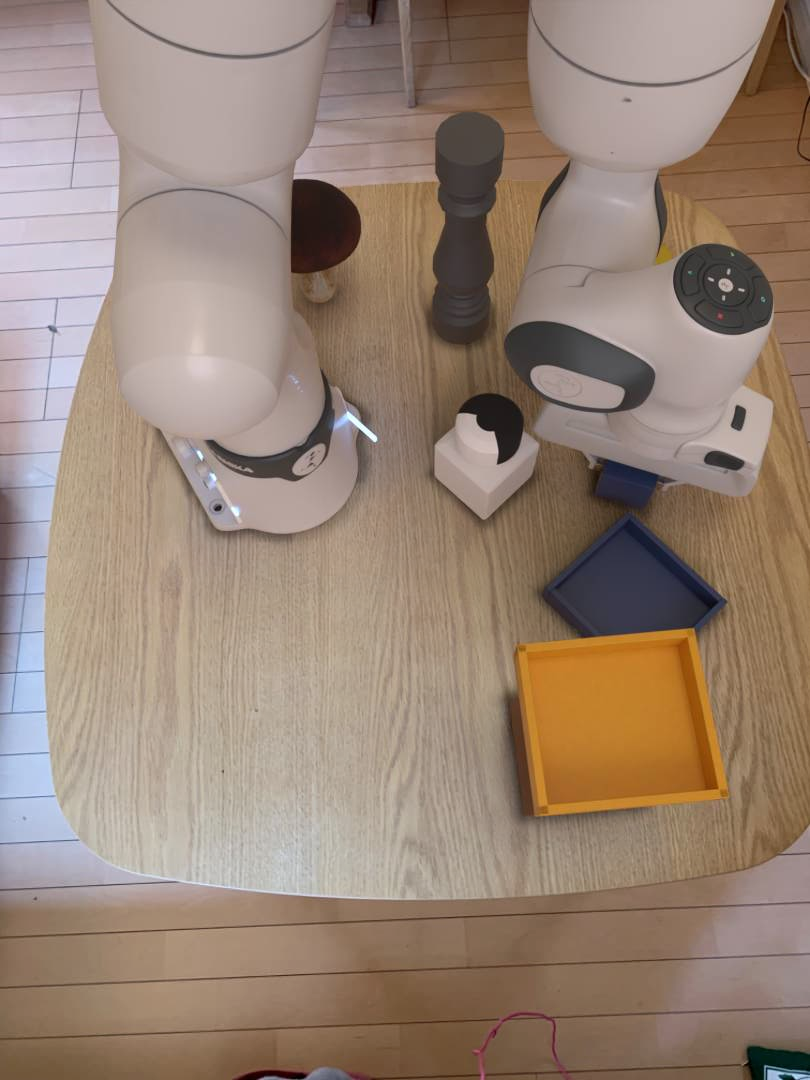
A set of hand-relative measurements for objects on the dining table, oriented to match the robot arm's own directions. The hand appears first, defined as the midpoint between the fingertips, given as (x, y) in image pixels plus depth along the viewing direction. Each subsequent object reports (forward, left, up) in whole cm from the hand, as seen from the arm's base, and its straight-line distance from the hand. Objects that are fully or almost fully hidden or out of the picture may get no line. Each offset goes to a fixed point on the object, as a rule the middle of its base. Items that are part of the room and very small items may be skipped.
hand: (628, 473), depth 83 cm
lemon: (-14, +17, -2) cm, 22 cm away
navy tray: (+9, -9, -2) cm, 13 cm away
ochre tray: (+15, -23, -2) cm, 28 cm away
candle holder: (-25, +1, -2) cm, 25 cm away
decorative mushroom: (-38, -8, -2) cm, 39 cm away
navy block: (0, 0, -2) cm, 2 cm away
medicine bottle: (-10, -10, -2) cm, 14 cm away
